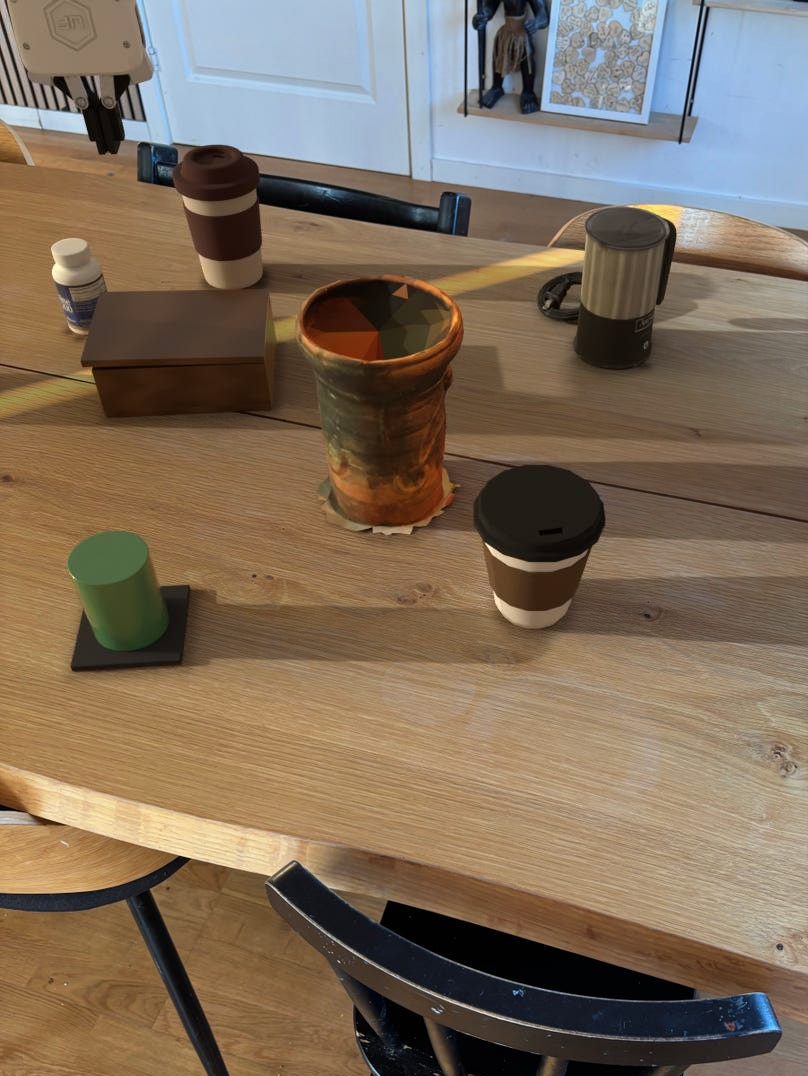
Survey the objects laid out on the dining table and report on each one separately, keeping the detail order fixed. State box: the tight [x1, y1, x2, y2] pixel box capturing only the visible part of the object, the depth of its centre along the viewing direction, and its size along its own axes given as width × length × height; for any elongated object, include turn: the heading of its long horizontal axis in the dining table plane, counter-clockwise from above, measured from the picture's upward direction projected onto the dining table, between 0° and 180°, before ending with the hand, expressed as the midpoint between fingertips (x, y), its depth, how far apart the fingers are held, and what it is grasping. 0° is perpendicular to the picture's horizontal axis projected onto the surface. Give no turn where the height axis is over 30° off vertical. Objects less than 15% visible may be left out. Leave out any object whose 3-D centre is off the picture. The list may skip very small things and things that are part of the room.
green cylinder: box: [66, 530, 169, 651], centre depth 85 cm, size 6×6×8 cm
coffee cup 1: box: [171, 144, 264, 290], centre depth 123 cm, size 10×10×15 cm
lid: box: [79, 288, 270, 368], centre depth 109 cm, size 18×14×1 cm
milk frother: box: [536, 206, 678, 370], centre depth 116 cm, size 14×16×15 cm
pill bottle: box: [50, 237, 109, 336], centre depth 117 cm, size 5×5×10 cm
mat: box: [70, 584, 191, 672], centre depth 88 cm, size 9×9×1 cm
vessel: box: [294, 274, 465, 536], centre depth 93 cm, size 14×14×20 cm
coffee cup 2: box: [472, 464, 607, 630], centre depth 87 cm, size 11×11×12 cm
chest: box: [91, 295, 278, 418], centre depth 111 cm, size 18×14×6 cm
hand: (110, 148), depth 95 cm, fingers closed
